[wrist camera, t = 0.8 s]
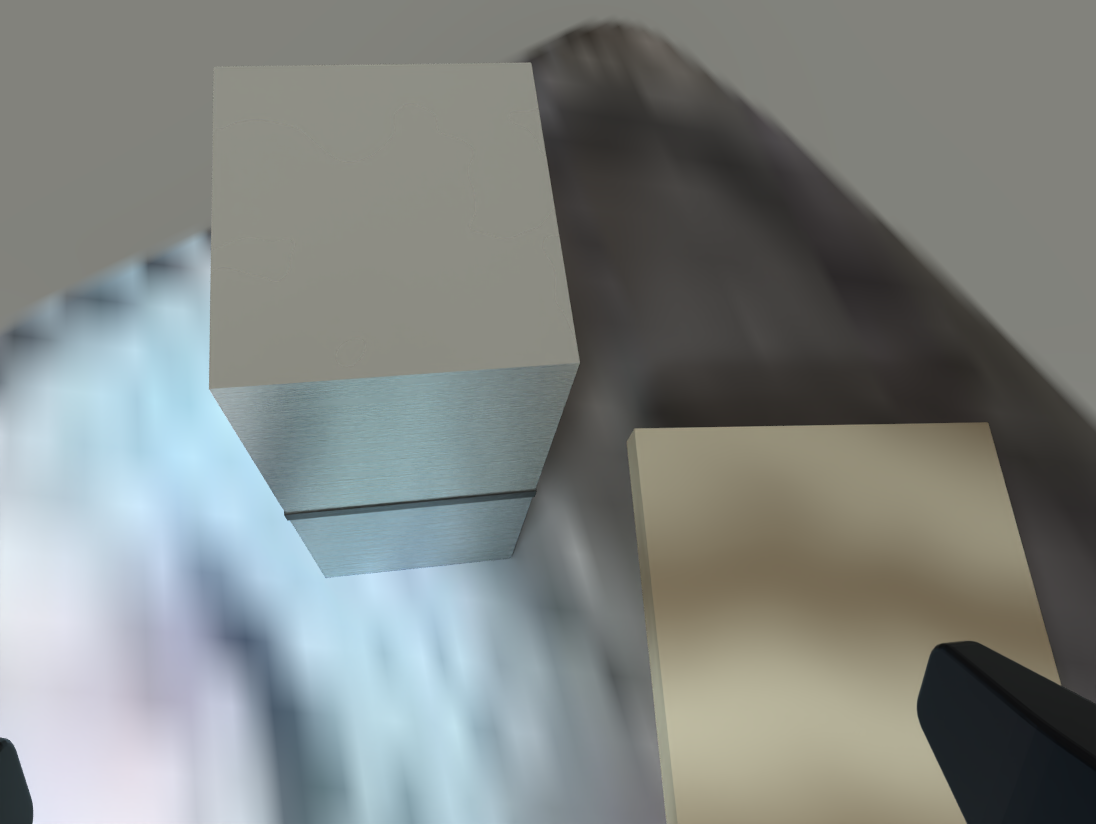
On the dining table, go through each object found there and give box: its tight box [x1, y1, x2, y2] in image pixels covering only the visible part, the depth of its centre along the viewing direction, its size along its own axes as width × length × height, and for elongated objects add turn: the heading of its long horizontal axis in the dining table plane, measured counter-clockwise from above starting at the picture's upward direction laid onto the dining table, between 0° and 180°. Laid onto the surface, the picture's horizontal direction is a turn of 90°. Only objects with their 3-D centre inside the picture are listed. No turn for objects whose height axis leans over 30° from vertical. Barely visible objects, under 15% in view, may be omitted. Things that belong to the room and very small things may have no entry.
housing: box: [209, 63, 580, 578], centre depth 18 cm, size 6×5×12 cm
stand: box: [627, 422, 1061, 824], centre depth 22 cm, size 10×10×3 cm
